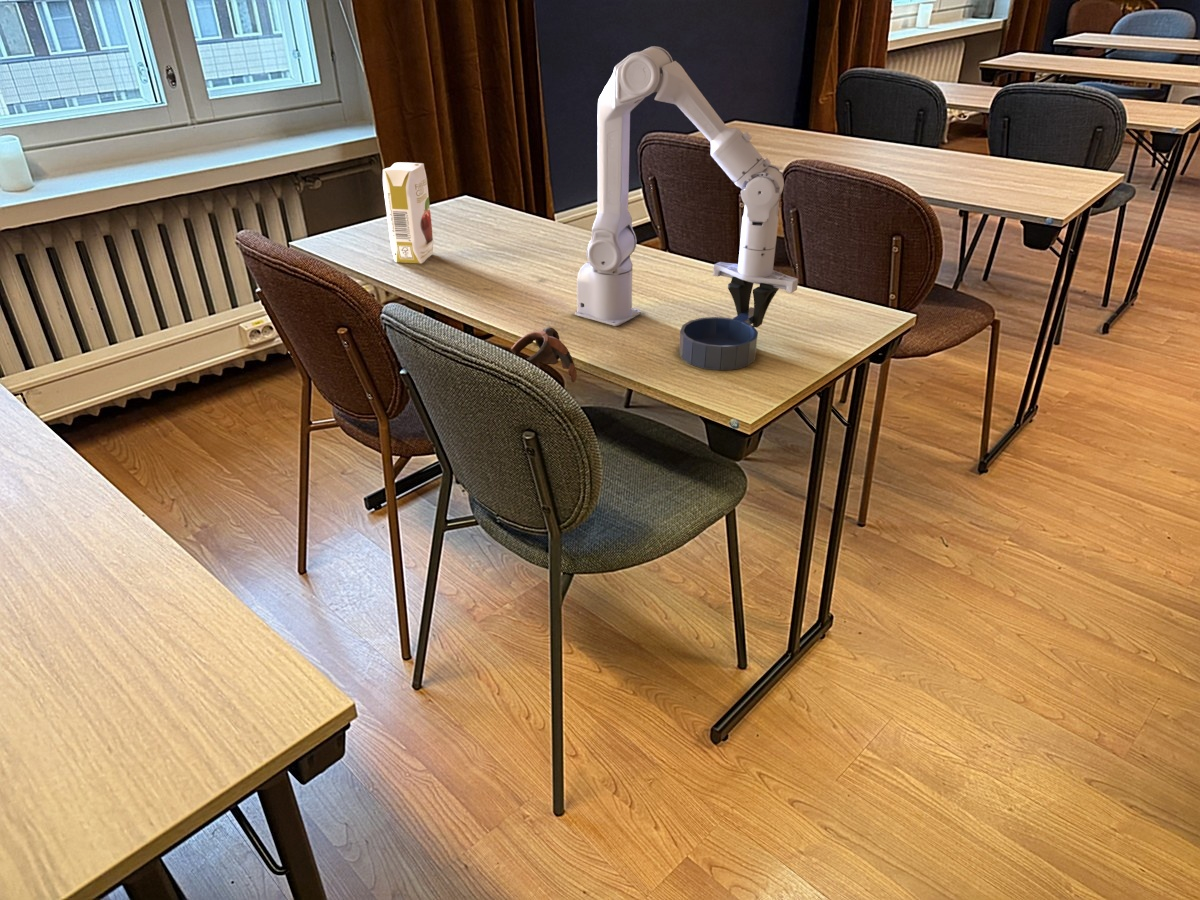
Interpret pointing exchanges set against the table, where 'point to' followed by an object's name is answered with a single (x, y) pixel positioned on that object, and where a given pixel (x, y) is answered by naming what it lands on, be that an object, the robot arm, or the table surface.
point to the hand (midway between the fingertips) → (750, 323)
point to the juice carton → (408, 212)
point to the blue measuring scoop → (719, 342)
